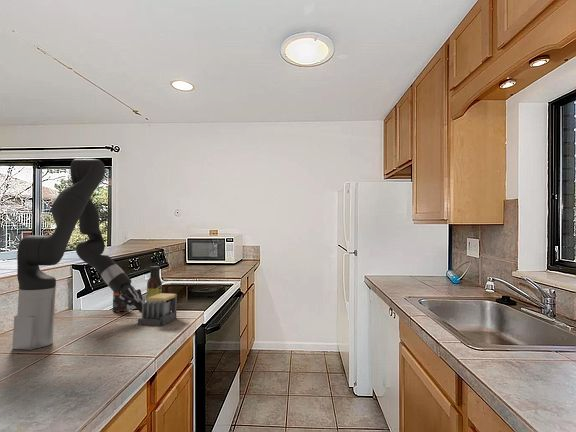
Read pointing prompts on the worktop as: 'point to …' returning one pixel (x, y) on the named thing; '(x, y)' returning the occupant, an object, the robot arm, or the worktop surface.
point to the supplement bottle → (118, 303)
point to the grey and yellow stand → (166, 318)
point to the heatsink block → (155, 309)
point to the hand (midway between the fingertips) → (143, 310)
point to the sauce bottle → (154, 282)
